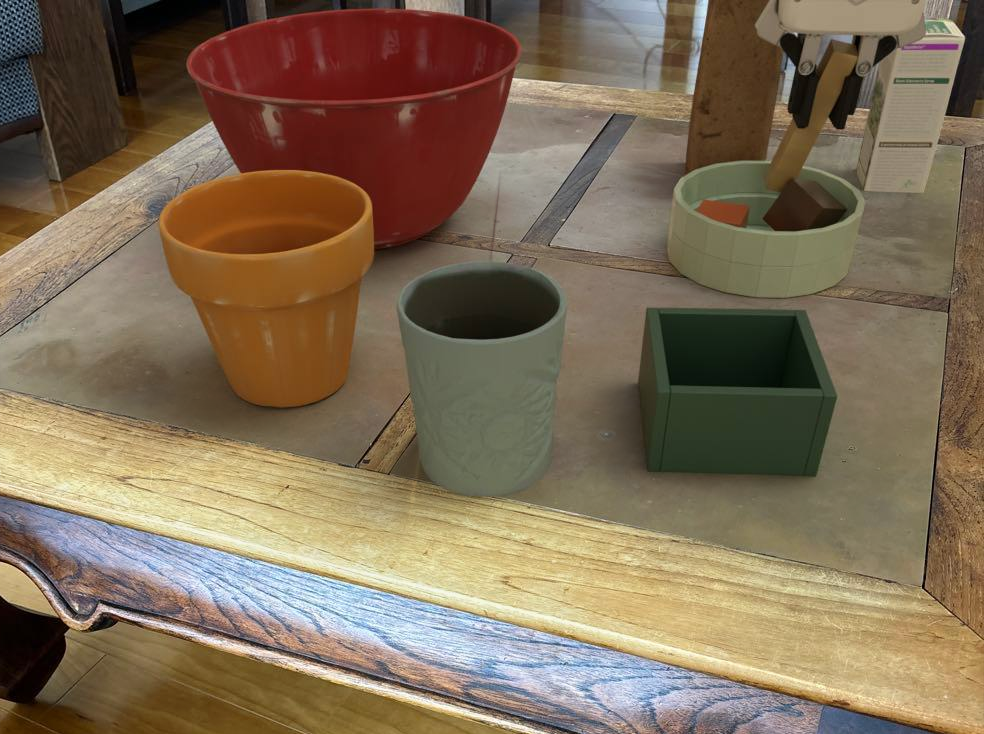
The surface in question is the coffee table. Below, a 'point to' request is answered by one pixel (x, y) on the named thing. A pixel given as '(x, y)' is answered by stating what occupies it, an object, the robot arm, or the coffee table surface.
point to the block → (733, 87)
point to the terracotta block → (725, 212)
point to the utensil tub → (733, 392)
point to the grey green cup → (483, 373)
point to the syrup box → (909, 110)
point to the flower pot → (274, 277)
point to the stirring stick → (812, 115)
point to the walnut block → (803, 207)
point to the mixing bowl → (364, 104)
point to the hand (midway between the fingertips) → (817, 121)
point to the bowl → (758, 234)
